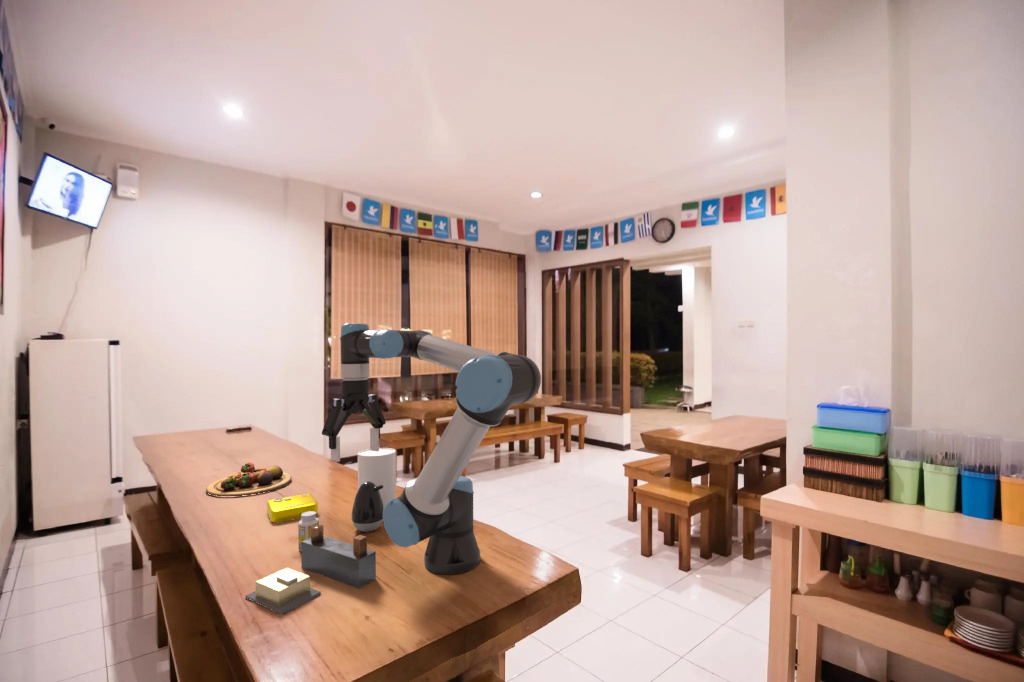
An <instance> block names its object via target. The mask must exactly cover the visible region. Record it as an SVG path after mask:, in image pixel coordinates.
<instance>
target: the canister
mask: <svg viewBox="0 0 1024 682" xmlns="http://www.w3.org/2000/svg"><path fill="white" fill-rule="evenodd" d="M365 482H373V483H374V484H375V485H376V486H380V485H383V488H382V489H380V490H379V492H380V495H381V498H382V501H383V506H384V507H385V505H386V504H387V502H389V501H391V500H392V499H394V498H397V450H396V449H395V448H391V447H390V448H389V447H379V451H371V450H370V448H366V449H363V450H360V451H358V452H357V490H358V489H359V487H360V486H361V485H362V484H363V483H365Z"/></svg>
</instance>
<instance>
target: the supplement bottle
mask: <svg viewBox="0 0 1024 682" xmlns="http://www.w3.org/2000/svg"><path fill="white" fill-rule="evenodd" d="M314 525H320V519H319V518H317V515H316V512H314V511H309V512H305V513H302V514H301V518H300V520H299V521H298V525H297V526H298V527H297V528H298V530H297V532H298V533H297V534H298V535H297V536H298V550H299V551H300V552H302V546H301V542H302V541H304V540H307V539H309V538H311V527H312V526H314Z"/></svg>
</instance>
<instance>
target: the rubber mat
mask: <svg viewBox="0 0 1024 682" xmlns="http://www.w3.org/2000/svg"><path fill="white" fill-rule="evenodd" d="M320 595H322V593H321V591H320V590H317V589H315V588H313V587H310V591H309V592H307V593H305V594H303V595H301V596H299V597H297V598H295V599H293V600H291V601H290V602H288V603H286V604H284V605H282V606H280V607H278V606H276V605H273V604H271V603H269V602H267V601H265V600H262V599H260V598H258V597H256V590H255V591H252V592H250V593H248V594H246V595H245V597H246V598H248V599H251V600H253V601H255V602H257V603H259V604H261V605H264V606H266V607H267V608H270V609H272V610H273V611H272V610H271V611H272V612H274V611H275V612H274V613H276V612H278V613H279V614H278V613H277V614H278V615H280V614H281V616H283V615H285V614H286V612H287V613H288V612H290V611H292V610H294V609H296V608H298V607H300V606H301V605H303V604H305V603H307V602H309V601H311V600H312V599H315V598H316V597H318V596H320ZM245 597H244V598H245ZM246 598H245V599H246ZM248 599H247V600H248ZM257 603H256V604H257ZM259 604H258V605H259ZM261 605H260V606H261ZM267 608H266V609H267ZM270 609H269V610H270ZM284 613H285V614H284ZM282 614H283V615H282Z"/></svg>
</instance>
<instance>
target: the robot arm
mask: <svg viewBox="0 0 1024 682" xmlns="http://www.w3.org/2000/svg"><path fill="white" fill-rule="evenodd" d="M339 340H340V342H339V343H340V378H341V379H342V380H341V381H340V393H341V395H342V398H332V401H331V407H330V410H329V413H328V414H327V415H328V416H327V418H326V420H325V422H324V426H323V428H322V431H321V435H323V436H326V437H328V448H329V450H330V461H332V462H336V463H337V462H341V437H340V436H338V435H339V434H340V431H341V430H342V429H343V427H344V425H345V423H346V422H347V420H348V418H349V417H350V416H351V415H352V414H357V413H361V414H363V416H364V418H365V419H367V422H369V424H370V426H372V427H370V428H369V444H370V446H369V447H370V448H369V449H370V450H371V451H379V448H380V445H379V444H380V439H381V429H382V428H383V427H384V425H386V419H385V416H384V414H383V412H382V409H381V407H380V405H379V402H378V395H377V394H375V393H373V394H372V393H370V379H368V378H369V377H370V358H371V359H384V360H385V359H392V358H414V359H417V360H421V361H425V362H426V363H430V364H433V365H436V366H438V367H442V368H445V369H448V370H451V371H454V372H457V376H456V379H455V386H456V389H455V394H456V396H455V404H456V406H457V408H456V410H455V411H454V413H453V415H452V417H451V419H450V421H449V423H448V424H447V426H446V427H445V429H444V431H443V433H442V434H441V436H440V438H439V440H438V441H437V444H436V445H435V447H434V448H433V451H432V452H431V454H430V455H429V458H428V459H427V461H426V463H425V465H424V466H423V468H422V470H421V471H420V473H419V475H418V476H417V477H415V478H412V479H410V480H409V481H408V482H407V484H406V485H405V487H404V489H403V490H402V492H401V494H400V495H399V497H396V498H394V499H392V500H391V501H389V502H387V504H386V505H385V507H384V510H383V521H382V523H383V526H384V529H385V533H386V534H387V535H388V537H389V539H390V540H391V541H392V542H393V543H394V544H395V545H396V546H397V547H398V546H399V547H402V548H410V547H411V546H415V545H418V544H419V543H421V542H422V541H425V540H427V539H428V542H427V545H426V549H425V552H424V556H423V557H424V560H423V561H424V567H425V568H426V569H427V570H428V571H430V572H432V573H435V574H440V575H455V574H462V573H466V572H468V571H471V570H473V569H475V568H476V567H477V566H478V565H479V564H480V563H481V551H480V548H479V545H478V542H477V539H476V535H475V533H474V532H475V531H474V486H473V483H474V482H473V480H471V479H470V477H467V476H463V475H462V473H463V472H464V470H465V469H466V467H467V465H468V464H469V462H470V460H471V459H472V457H473V455H474V453H475V452H476V451H477V449H478V447H479V446H480V444H481V442H482V441H483V440H484V437H485V436H486V434H487V433H488V431H489V429H490V428H491V427H497V426H498V425H500V424H501V423H502V421H503V419H504V418H505V416H506V415H507V413H508V412H509V410H510V408H511V407H513V406H516V405H523V404H525V403H527V402H529V401H531V400H532V399H533V398H534V397H535V396H536V395H537V394H538V392H539V390H540V387H541V384H542V376H541V371H540V369H539V366H538V365H537V364H536V362H535V361H534V360H532V359H531V358H530V357H527V356H525V355H522V354H514V353H511V352H506V351H501V352H499V353H496V352H492V351H488V350H485V349H481V348H479V347H474V346H472V345H471V346H470V345H468V344H464V343H460V342H458V341H453V340H450V339H446V338H443V337H439V336H435V335H433V334H432V333H431V332H429V331H427V330H426V331H425V330H420V329H418V330H400V329H399V330H398V329H395V330H394V329H390V328H389V329H388V328H387V329H386V328H385V329H384V328H383V329H382V328H381V329H371V330H370V326H369V324H367V323H356V322H355V323H353V322H352V323H344V324H342V325H341V327H340V336H339Z"/></svg>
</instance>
